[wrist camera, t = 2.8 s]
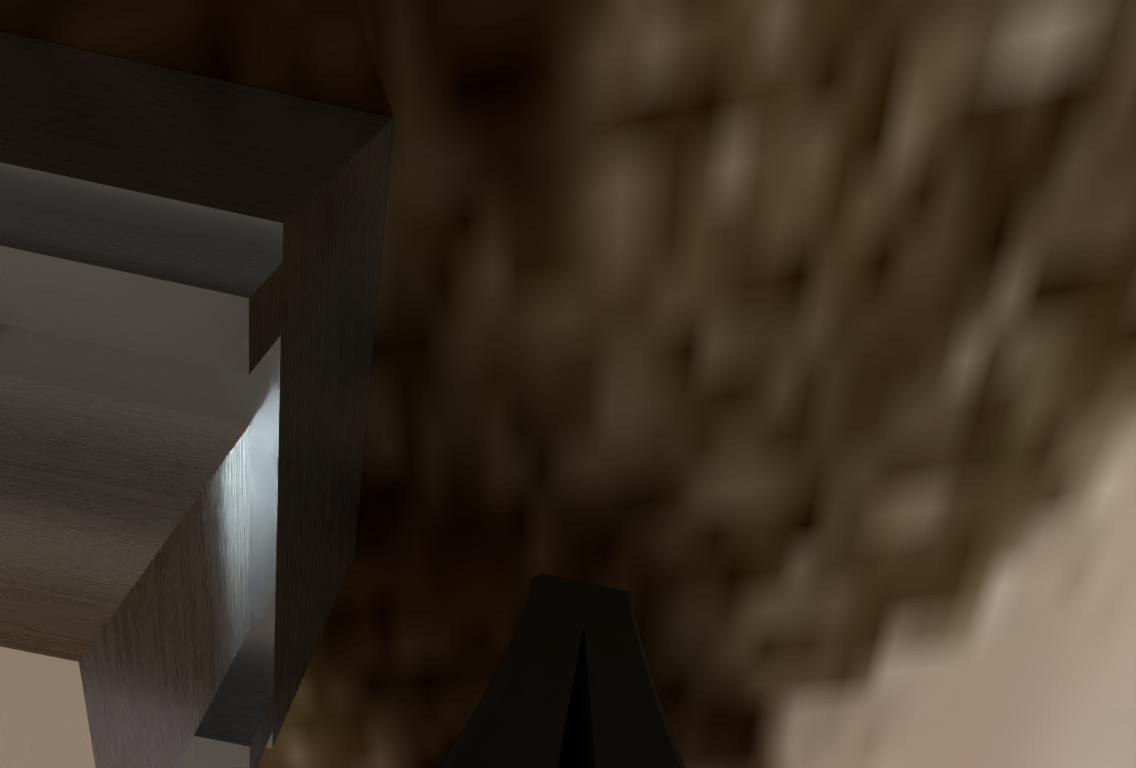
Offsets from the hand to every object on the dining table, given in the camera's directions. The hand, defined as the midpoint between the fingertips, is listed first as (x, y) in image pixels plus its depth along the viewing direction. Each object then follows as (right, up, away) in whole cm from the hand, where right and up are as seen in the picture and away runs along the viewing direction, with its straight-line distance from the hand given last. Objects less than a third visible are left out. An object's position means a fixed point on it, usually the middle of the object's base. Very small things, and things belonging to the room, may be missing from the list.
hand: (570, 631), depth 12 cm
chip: (-7, +2, 0) cm, 7 cm away
